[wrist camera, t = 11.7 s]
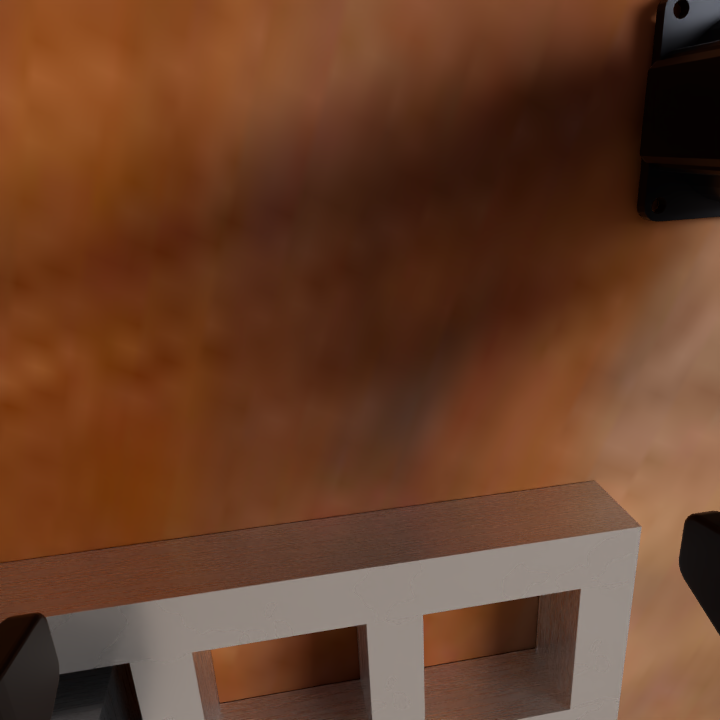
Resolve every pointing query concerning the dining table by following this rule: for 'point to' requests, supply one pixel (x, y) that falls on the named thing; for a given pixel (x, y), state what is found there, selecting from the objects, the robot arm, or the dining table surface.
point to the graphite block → (97, 695)
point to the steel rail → (358, 607)
